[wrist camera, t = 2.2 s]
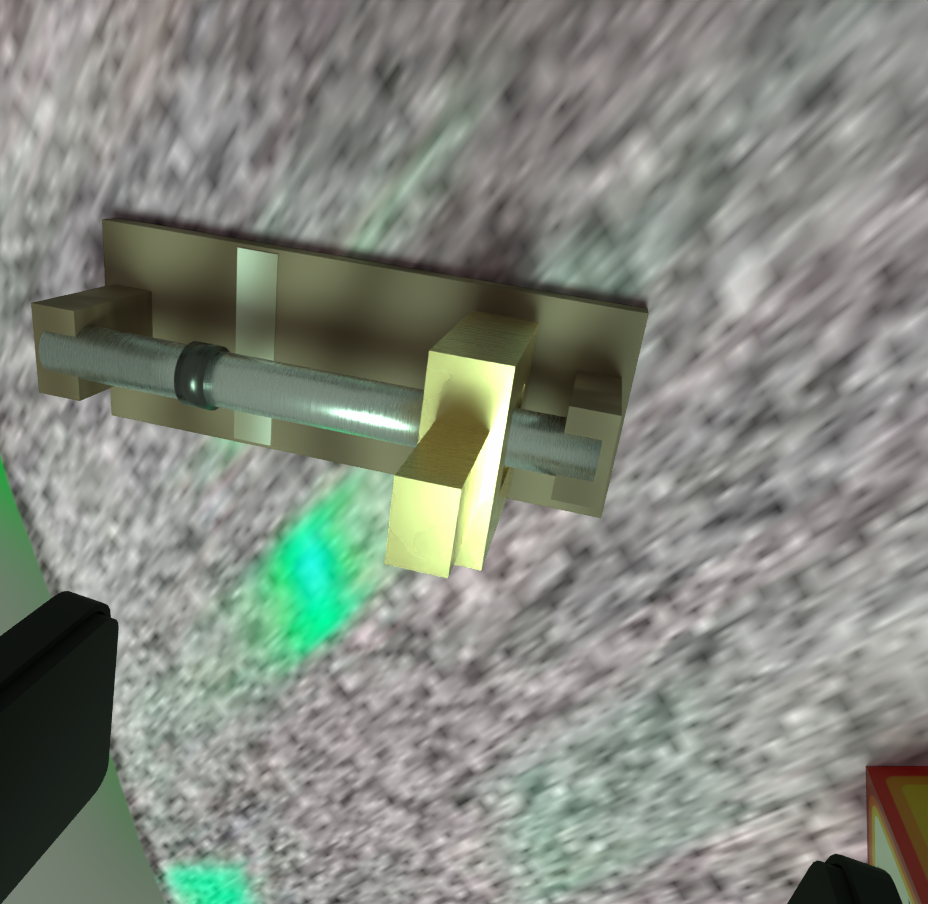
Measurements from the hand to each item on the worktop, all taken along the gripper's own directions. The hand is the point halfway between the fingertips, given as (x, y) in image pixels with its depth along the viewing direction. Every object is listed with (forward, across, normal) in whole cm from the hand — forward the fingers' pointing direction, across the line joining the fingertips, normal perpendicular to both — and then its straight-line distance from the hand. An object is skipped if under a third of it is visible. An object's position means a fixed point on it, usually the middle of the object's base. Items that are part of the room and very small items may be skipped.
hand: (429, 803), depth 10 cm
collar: (+25, +3, +3) cm, 25 cm away
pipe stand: (+27, +10, +3) cm, 29 cm away
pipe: (+22, +10, +3) cm, 25 cm away
